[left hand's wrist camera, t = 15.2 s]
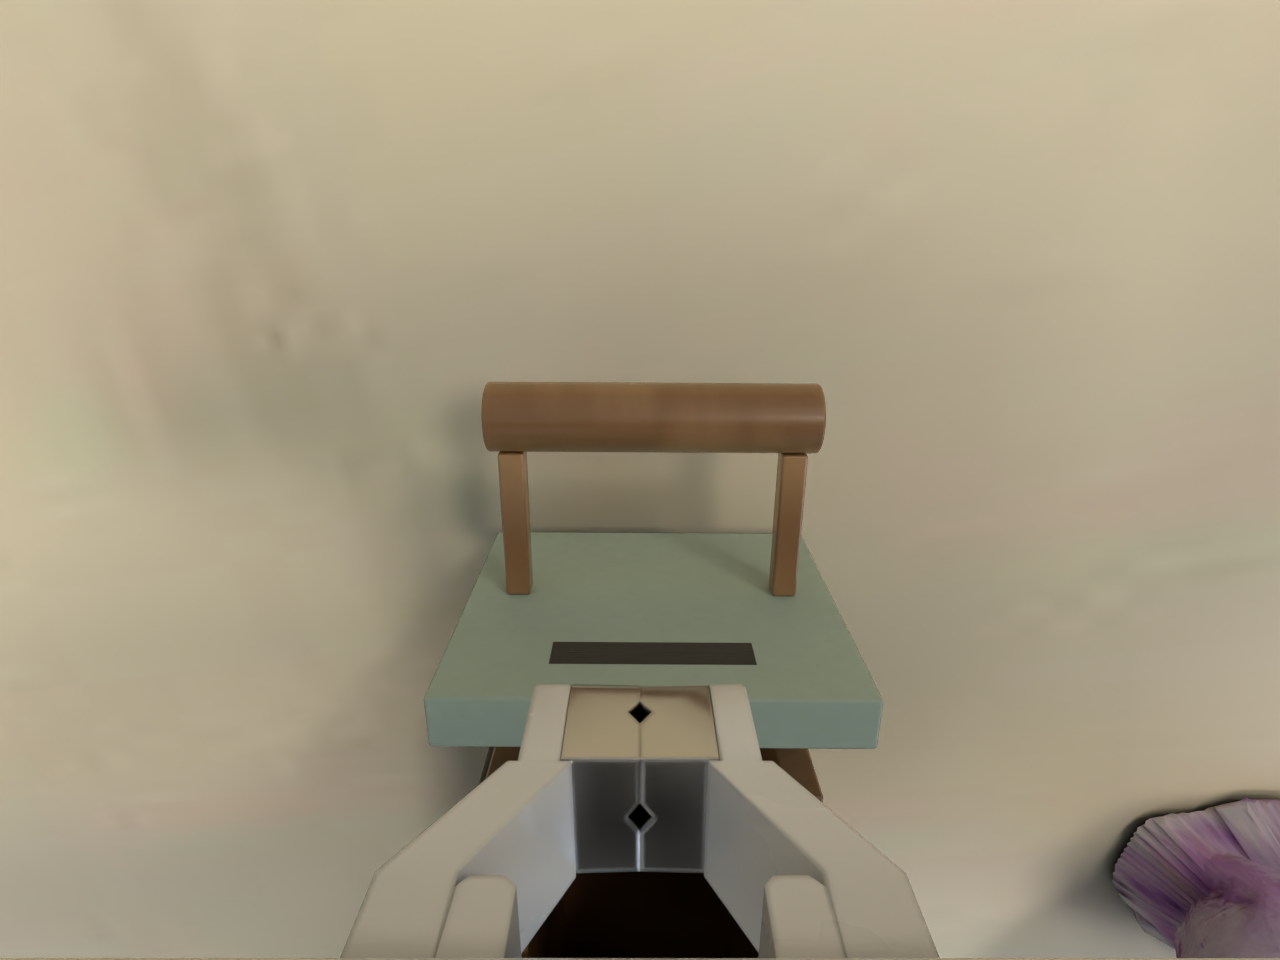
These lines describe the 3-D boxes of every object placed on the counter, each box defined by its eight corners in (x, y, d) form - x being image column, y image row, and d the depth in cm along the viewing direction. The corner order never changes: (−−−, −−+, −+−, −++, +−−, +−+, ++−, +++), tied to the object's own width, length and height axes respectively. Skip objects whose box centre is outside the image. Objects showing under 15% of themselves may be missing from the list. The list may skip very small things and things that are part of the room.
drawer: (486, 353, 20) (392, 438, 12) (817, 355, 20) (922, 441, 12) (527, 967, 28) (485, 1242, 21) (762, 968, 28) (806, 1244, 21)
